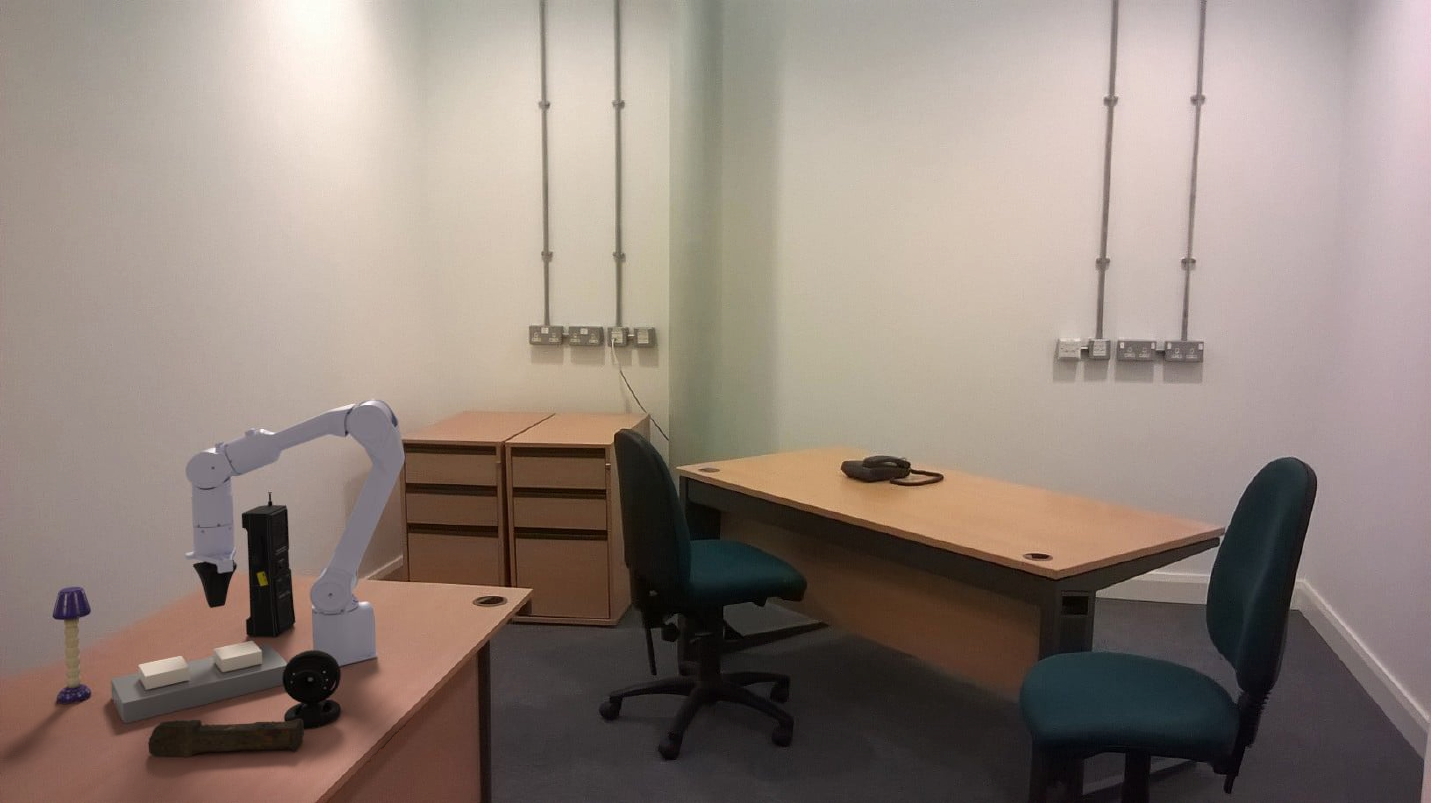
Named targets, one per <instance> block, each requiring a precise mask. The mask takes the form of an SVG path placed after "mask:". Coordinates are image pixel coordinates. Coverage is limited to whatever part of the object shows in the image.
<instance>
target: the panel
mask: <svg viewBox="0 0 1431 803" xmlns="http://www.w3.org/2000/svg"><path fill="white" fill-rule="evenodd" d="M258 647H259V649H260V650H261V651H262V664H257V665H253V666H249V667H246V668H242V669H238V670H233V671H229V672H228V671H227V672H222V671H221V670H220V669H219V667H218V666H217V665H216V663H215V662H214V655H213V656H208V657H205V658H200V659H196V660H190V661H185V662H186V663H187V665H188V666H189V674H190V680H187V681H183V682H178V683H175V684H172V685H167V686H163V687H158V688H152V689H147V690H146V689H145V687H144V685H143V684H142V682H141V680H140V678H139V672H134V673H130V674H125V675H121V676H116V677H111V678H110V684H111V686H110V688H111V699H112V698H113V699H112V701H113V700H114V701H113V702H115V703H114V705H115V707H117V708H116V710H117V709H118V710H117V712H118V711H119V712H118V714H119V713H120V714H119V716H120V718H121V721H122V720H123V721H122V723H123V722H124V723H125V724H130V723H134V722H138V721H141V720H146V719H149V718H153V717H154V718H155V717H157V715H158V716H162V715H166V714H170V713H174V712H178V711H182V710H187V709H191V708H194V707H199V706H203V705H206V704H212V703H214V702H218V701H223V700H228V699H231V698H236V697H239V696H243V695H248V694H251V693H256V692H261V691H263V690H268V689H272V688H276V687H281V686H283V682H282V677H283V671H284V669H285V666H286V665H287V663H288V662H287V661H286V659H284V658H283V657H282V656H281V655H280V654H279V653H278V652H277V651H276V650H275V649H274V647H273V646H272V645H270V644H263V645H259V646H258ZM124 723H123V724H124ZM125 724H124V725H125Z"/></svg>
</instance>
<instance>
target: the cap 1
mask: <svg viewBox="0 0 1431 803" xmlns="http://www.w3.org/2000/svg"><path fill="white" fill-rule="evenodd" d="M186 662H187V661H185V659H184V658H183V656H182V655H179V656H173V657H169V658H164V659H160V660H154V661H150V662H145V663H141V664H138V673H139V678H140V680H141V682H142V684H143V685H144V687H145V689H146V690H147V689H152V688H158V687H163V686H167V685H172V684H175V683H178V682H183V681H187V680H190V674H189V666H188V665H187V663H186Z"/></svg>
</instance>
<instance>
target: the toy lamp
mask: <svg viewBox="0 0 1431 803" xmlns="http://www.w3.org/2000/svg"><path fill="white" fill-rule="evenodd" d="M54 604H55V605H54V608H53V610H52V611H53V612H52V618H53V619H54V620H57V621H63V624H64V626H65V628H64V636H65V638H64V644H65V650H64V654H65V656H66V659H65V666H66V670H65V673H66V674H65V675H66V677H67V678H66V680H65V681H66V683H65V684H66V686H65V687H63V688H61V690H60V691H59V692H58V694H57V696H56V703H58V702H59V704H64V703H66V704H72V703H71V702H74V703H76V702H75V701H78V702H81V701H80V700H82V699H85V698H87V699H89V698H90V697H91V696H92V691H91V689H90V688H89V686H87V685H85V684H83V683H81V682H82V677H81V676H80V675H81V672H82V671H81V670H82V669H81V667H80V666H81V665H80V663H81V657H80V652H81V648H80V645H79V644H80V636H79V634H80V627H79V622H80V619H81V618H84V617H86V616H88V615H90V614H91V612H92V609H91V606H90V602H89V601H88V597H87V595H86V592H85V590H84V588H83V587H81V586H70V587H65V588H62V589H60V590H59V591H58V593H57V596H56V600H55V603H54ZM88 697H89V698H88ZM85 700H86V699H85ZM82 701H83V700H82Z"/></svg>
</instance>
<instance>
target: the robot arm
mask: <svg viewBox="0 0 1431 803" xmlns="http://www.w3.org/2000/svg"><path fill="white" fill-rule="evenodd" d="M357 404H358V403H351V404H348V405H347V404H346V405H344V406H338V407H336V408H332V409H329V410H327V411H325V412H322V413H320V414H317V415H315V416H313V417H310V418H307V419H305V420H303V421H301V422H298V423H296V424H293V425H291V426H288V427H286V428H284V429H281V430H278V431H276V432H273V431H270V430H267V429H264V428H261V429H258V430H256V429H255V427H254V428H251V429H250V428H249V429H247V430H246V431H244V434H245V435H242V436H240V437H237V438H235V439H232V440H229V441H226V442H224V441H222V440H221V441H218V442H216V443H214V446H215V447H210V448H207V449H205V450H202V451H200V452H198V453H196V454H195V455H194V456H192V457H191V458H190V459H189V461H188V462H187V463H186V466H185V475H186V478H187V480H188V482H190V483H191V514H192V516H191V518H192V520H191V521H192V536H193V551H189V552H186V553H185V559H186V560H194V559H195V560H198V561H201V562H196V563H194V564H193V565H192V567H193V568H194V570H195V571H196V573H197V575H198V577H199V579H200V581H201V584H202V585H201V586H202V587H203V591H204V596H205V599H206V602H207V605H208V607H209V608H210V609H214V608H218V607H223V606H225V605H226V602H227V601H226V600H227V597H228V591H229V588H230V587H229V586H230V584H231V580H232V578H233V575H234V573H236V572H235V571H236V570H237V568H238V564H237V563H236V561H235V559H234V557H235V556H236V553H237V547H236V546H235V531H234V530H235V529H234V526H235V525H234V523H235V522H234V502H233V492H232V477H240V476H243V475H245V474H248V473H250V472H253V471H256V470H258V469H261V468H264V467H265V466H268V465H272V464H274V463H276V462H277V461H278V460H279V459H280V457H281V453H282V451H285V450H288V449H290V448H293V447H296V446H299V445H302V444H305V443H307V442H310V441H313V440H316V439H319V438H322V437H325V436H327V435H332V436H337V437H341V438H346V437H347V436H348V435H350V436H351V437H352V438H353V439H354V440H355V441H356V442H357V443H358V444H360V446H362V447H363V448H364V450H365V451H366V454H367V456H368V457H369V459H370V461H371V463H372V466H371V468H370V471H369V472H368V475H367V477H366V479H365V481H364V484H363V486H362V489H361V491H360V492H359V496H358V498H357V500H356V502H355V505H354V506H353V509H352V511H351V513H350V516H349V518H348V521H347V522H346V524H345V527H344V530H343V532H342V534H341V537H340V538H339V540H338V543H337V546H336V548H335V550H334V552H333V554H332V557H331V559H330V561H329V563H327V564H326V565H325V566H323V568H322V569H321V571H320V573H319V575H318V577H317V579H316V581H315V582H314V583H313V584H312V585H311V588H310V591H309V599H310V602H311V616H312V617H311V619H312V623H311V625H312V650H319V651H323V652H325V653H328V654H330V655H331V656H332V657H333V658H335V659H336V661H337V663H338V665H339V667H341V666H346V665H350V664H354V663H358V662H362V661H366V660H370V659H375V658H378V653H377V647H376V643H377V642H376V638H377V637H376V636H377V635H376V616H375V613H374V612H375V611H374V608H373V606H372V604H371V602H369V601H367V600H366V601H359V599H358V598H357V597H356V595H355V594H354V590H355V589H356V587H357V586H358V582H359V567H360V565H361V561H362V559H363V557H364V555H365V552H366V550H367V548H368V546H369V544H370V541H371V540H372V537H373V534H374V532H375V530H376V528H377V526H378V523H379V521H380V518H381V516H382V514H383V513H384V512H383V511H384V509H385V506H386V505H387V502H388V500H389V498H390V495H391V494H392V491H393V489H394V486H395V484H396V482H397V480H398V477H399V475H400V472H401V470H402V467H403V466H404V463H405V460H406V454H405V450H404V445H403V440H402V436H401V435H402V434H401V432H400V424H399V419H398V418H397V416H396V414H395V412H394V411H393V409H392V408H391V406H390V405H389V404H388V403H386V402H385V401H383V400H381V399H377V398H369V399H366V400H364V401H362V402H361V403H359V404H358V405H357ZM355 406H356V407H355Z"/></svg>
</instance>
